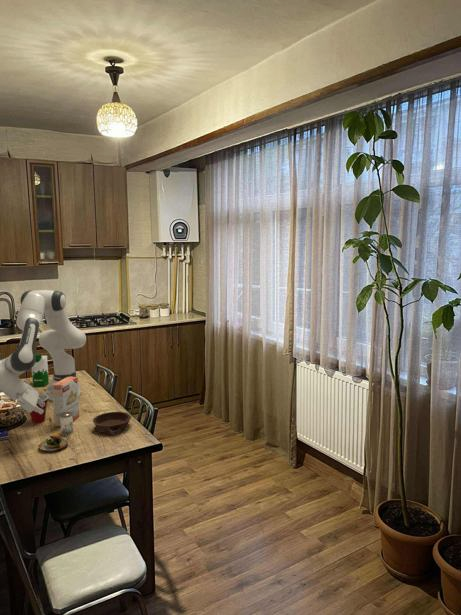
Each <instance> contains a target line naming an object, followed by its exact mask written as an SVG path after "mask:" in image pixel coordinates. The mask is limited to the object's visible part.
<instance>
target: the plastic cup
mask: <svg viewBox="0 0 461 615" xmlns="http://www.w3.org/2000/svg"><path fill="white" fill-rule="evenodd" d="M38 397H39V398H40V399H41V400H42V401H43V402H44V403H45V406H44V407H41V406H40V405H39V404H38V403H37V404H36V405H37V406H38V407H39V408H40V409H43V410H44V412H43V413H42V414H40V413H38V412H35V411H32V412H31V413H30V412H29V415H30V418H31V421H32V423H34V424H38V423H42V422H45V421H46V413H47V406H48V405H47V404H48V400H49V399H48V395H46V394H44V393H39V396H38Z"/></svg>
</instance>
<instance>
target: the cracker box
mask: <svg viewBox="0 0 461 615" xmlns="http://www.w3.org/2000/svg"><path fill="white" fill-rule="evenodd" d="M78 382H79V378H78V377H77V376H76V377H66V378H64V379H63V380H61V381H59V382H57V383H55V384H53V385H52V389H53V401H52V403H53V406H52V407H53V421H54V422H53V423H54V424H53V425H54V427H60V428H61V424H60V414H61V413H63V412H72V413H73V415H72V417H73V422H74V421H75V420H76V419H78V418H80V399H79V396H80V395H78Z"/></svg>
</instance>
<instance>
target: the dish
mask: <svg viewBox="0 0 461 615" xmlns="http://www.w3.org/2000/svg"><path fill="white" fill-rule="evenodd" d="M131 417H132V416H131V414H129V413H128V412H125V411H109V412H105V413H101V414H98V415H96V416H94V418H93V419H92V422H93V424H94V427H95V428H96V430H97V431H99V432H100V433H103V434H104V433H105V434H111V435H118V434H119V433H120V432H121V431H124V430H125V429H127V428H128V426H129V423H130V420H132V418H131Z"/></svg>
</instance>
